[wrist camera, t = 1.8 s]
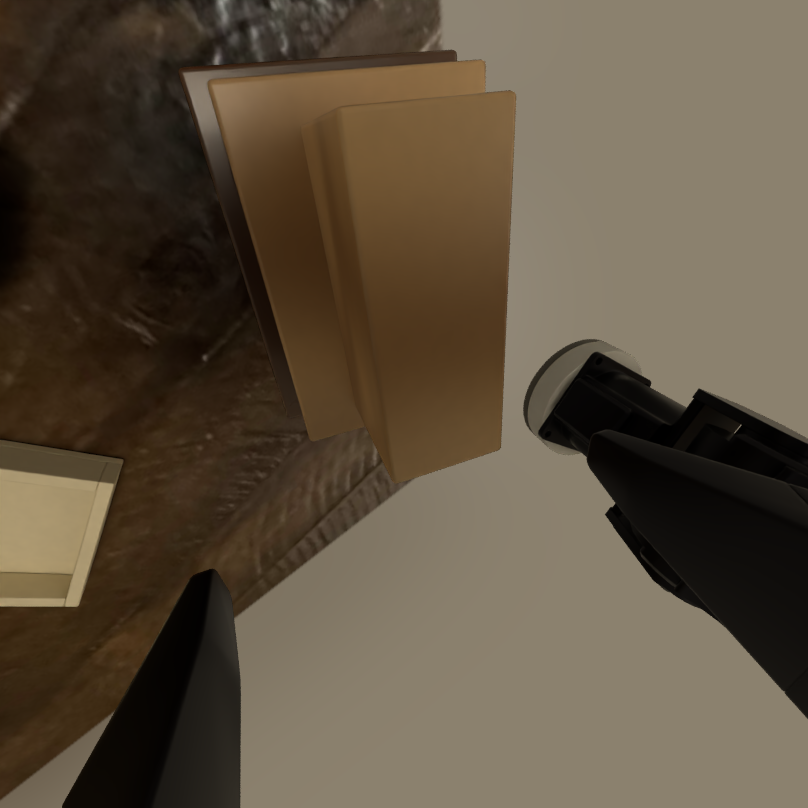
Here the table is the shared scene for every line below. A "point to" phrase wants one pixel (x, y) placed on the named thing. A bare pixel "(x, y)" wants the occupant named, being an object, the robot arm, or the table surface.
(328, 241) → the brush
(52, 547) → the tray
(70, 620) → the table surface
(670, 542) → the robot arm
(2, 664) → the table surface
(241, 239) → the brown block
